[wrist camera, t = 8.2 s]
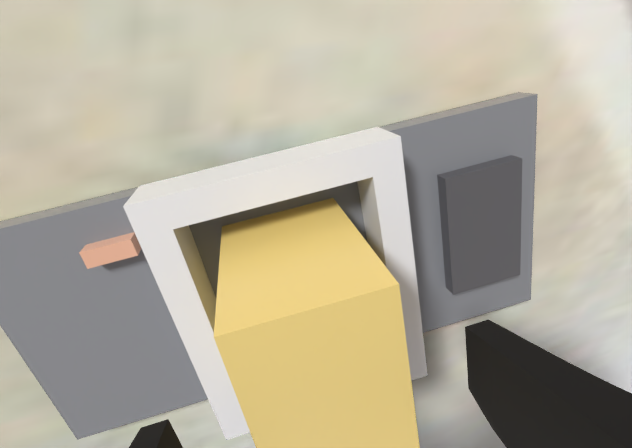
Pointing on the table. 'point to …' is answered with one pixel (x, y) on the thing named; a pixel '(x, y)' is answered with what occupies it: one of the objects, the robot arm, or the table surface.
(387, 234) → the grey boxy piece
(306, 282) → the plug
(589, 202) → the table surface
